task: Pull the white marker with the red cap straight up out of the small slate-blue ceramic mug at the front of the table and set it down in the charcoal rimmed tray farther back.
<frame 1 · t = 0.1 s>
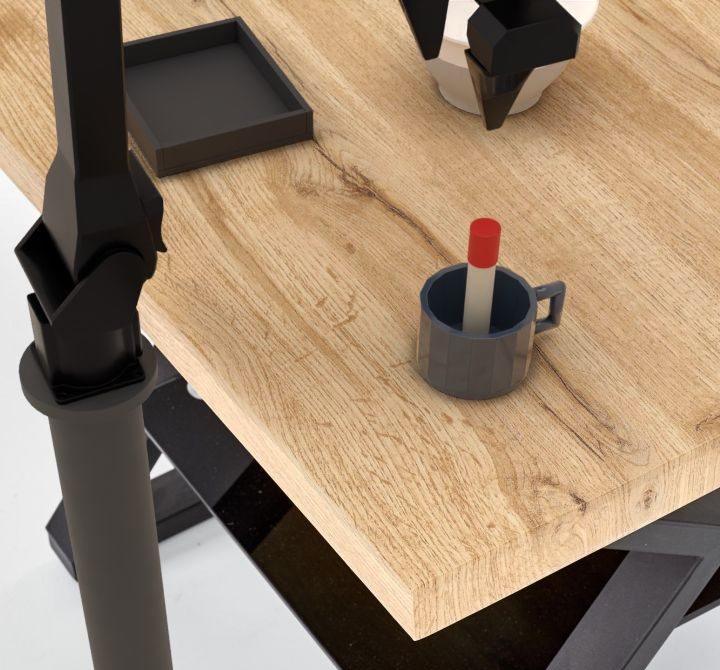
hand: (461, 92, 108), 13 cm above the table, tool pointing down, fingers open, 9 cm apart
marker: (473, 355, 109), resting on mug
bowl: (490, 88, 131), on the table
tray: (201, 107, 129), on the table
mug: (472, 360, 109), on the table, touching marker
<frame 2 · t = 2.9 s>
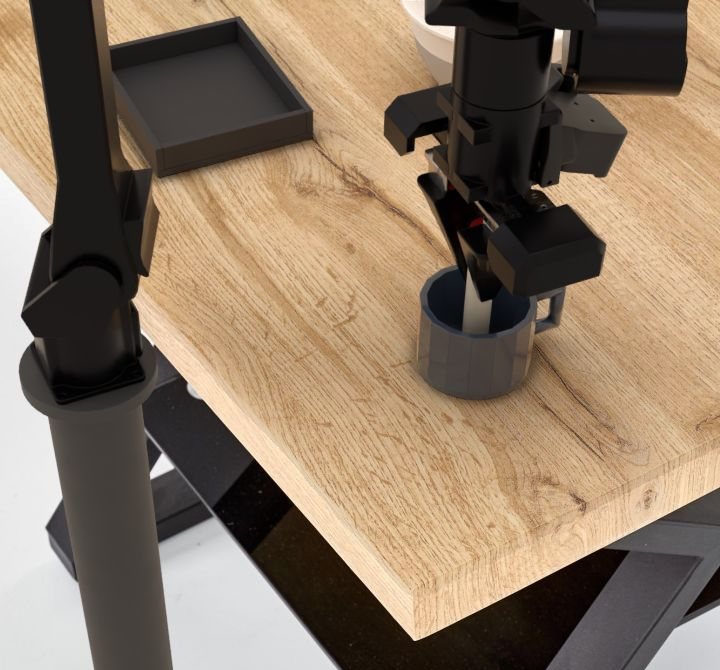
hand: (479, 289, 104), 6 cm above the table, tool pointing down, fingers closed on marker, 2 cm apart
marker: (473, 355, 109), resting on mug, touching gripper
everything else where it was.
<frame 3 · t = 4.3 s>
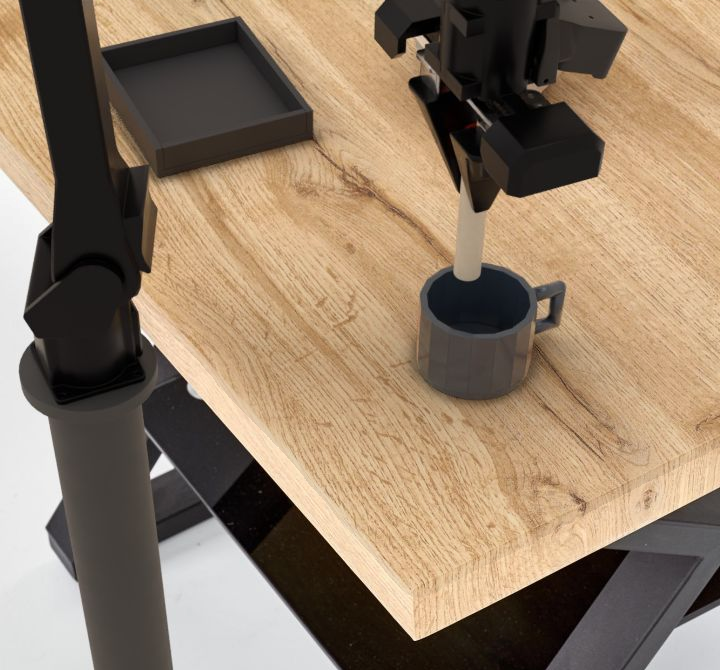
hand: (473, 201, 100), 13 cm above the table, tool pointing down, fingers closed on marker
marker: (466, 272, 105), point 7 cm above the table, touching gripper
mug: (472, 360, 109), on the table
everything else where it was.
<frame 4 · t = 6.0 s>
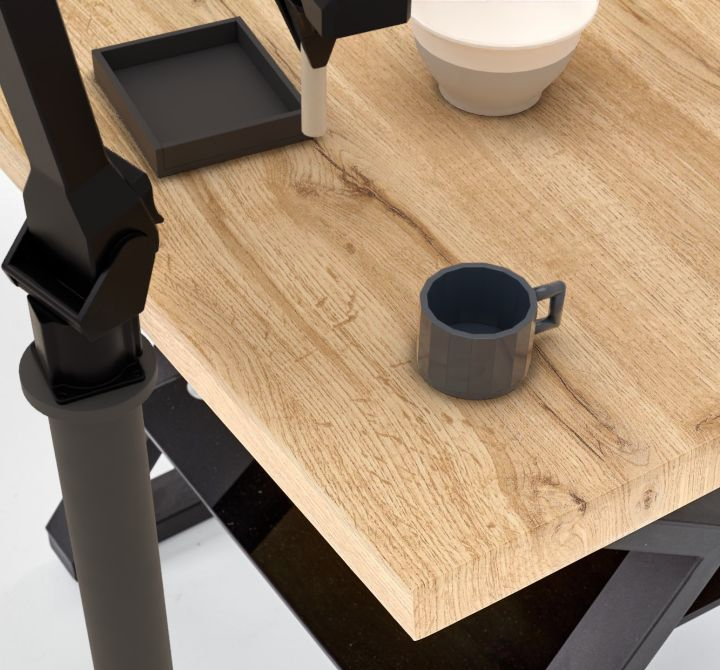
hand: (312, 59, 110), 13 cm above the table, tool pointing down, fingers closed on marker
marker: (314, 130, 114), point 7 cm above the table, touching gripper
everything else where it was.
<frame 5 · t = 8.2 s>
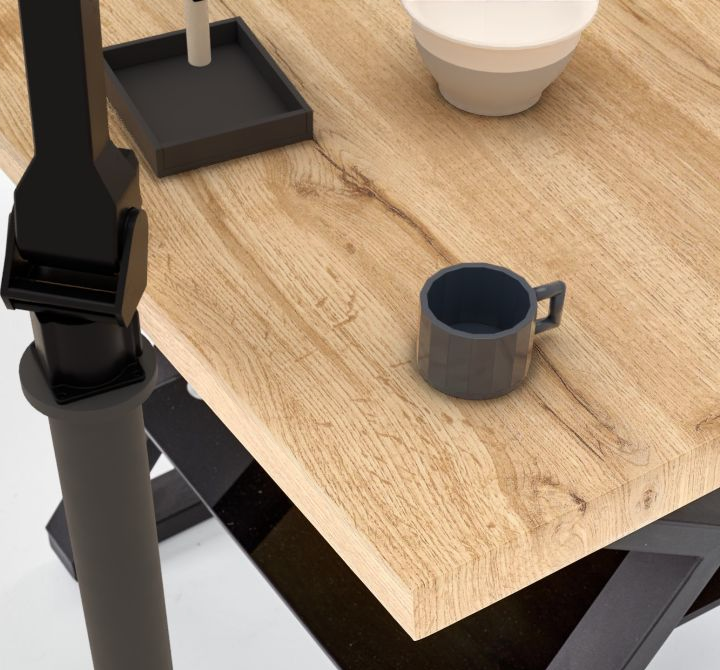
marker: (199, 60, 125), point 4 cm above the table, touching gripper
everything else where it was.
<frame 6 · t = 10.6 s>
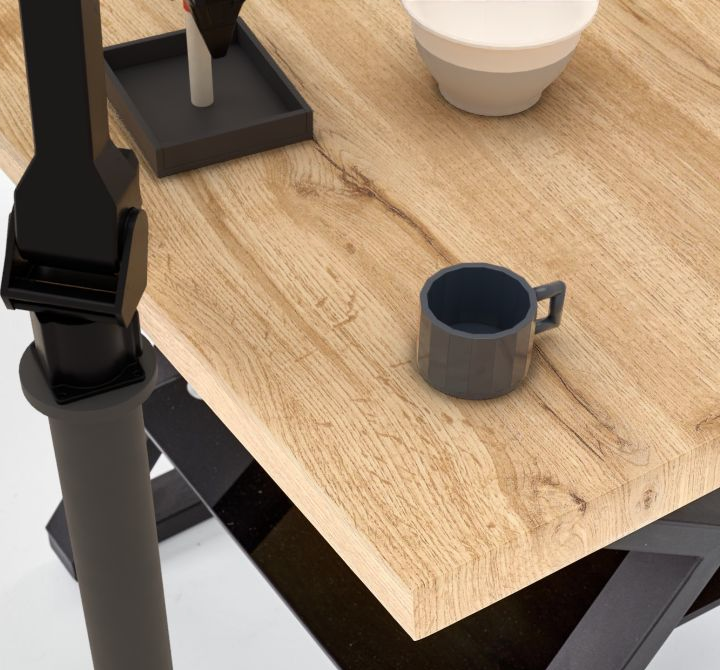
hand: (196, 27, 123), 7 cm above the table, tool pointing down, fingers open, 9 cm apart
marker: (202, 101, 128), point 1 cm above the table, touching tray
everything else where it was.
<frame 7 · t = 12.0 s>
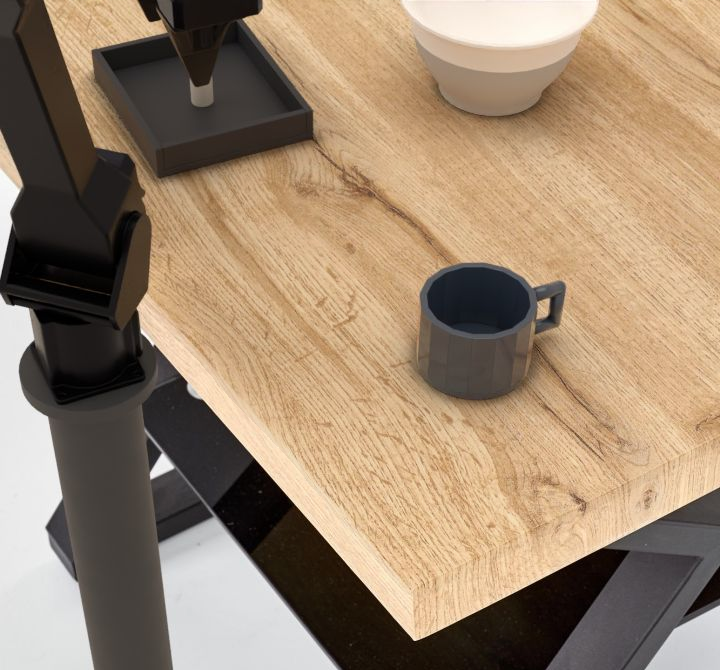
hand: (177, 51, 112), 12 cm above the table, tool pointing down, fingers open, 9 cm apart
nothing on the table moved.
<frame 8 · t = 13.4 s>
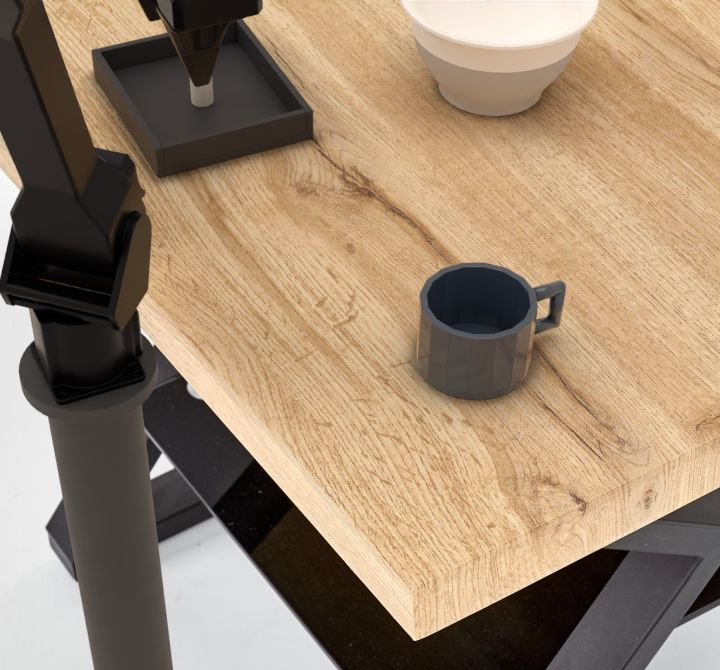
hand: (178, 51, 112), 12 cm above the table, tool pointing down, fingers open, 9 cm apart
nothing on the table moved.
at the end: marker inside the target area on the tray (0.1 cm from its centre), point 0.6 cm above the tray's base; the gripper is holding nothing; marker moved 36.4 cm from its start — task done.
